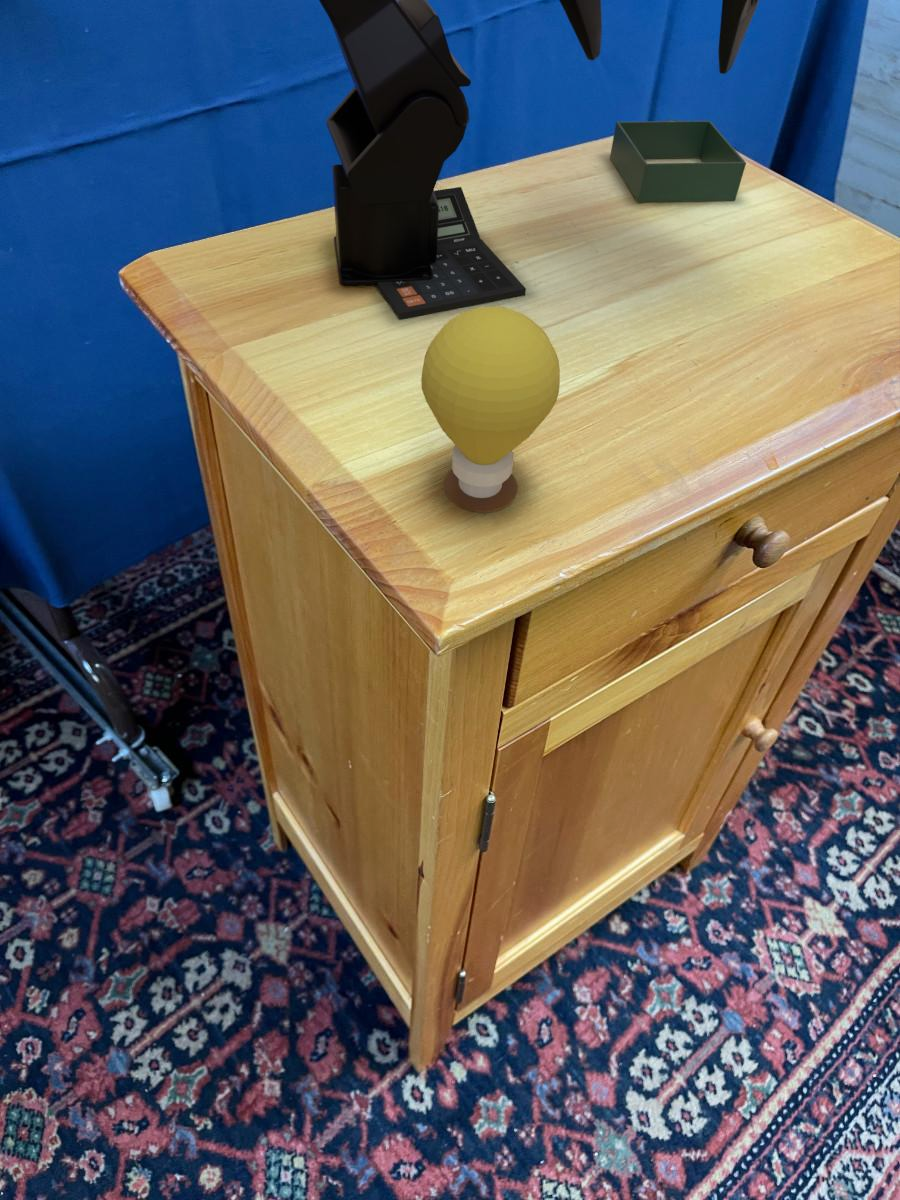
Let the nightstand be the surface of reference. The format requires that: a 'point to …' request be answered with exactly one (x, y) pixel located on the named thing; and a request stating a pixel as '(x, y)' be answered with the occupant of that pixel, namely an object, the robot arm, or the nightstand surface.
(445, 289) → the calculator
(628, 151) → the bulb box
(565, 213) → the nightstand surface
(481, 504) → the coaster
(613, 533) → the nightstand surface
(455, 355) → the light bulb
